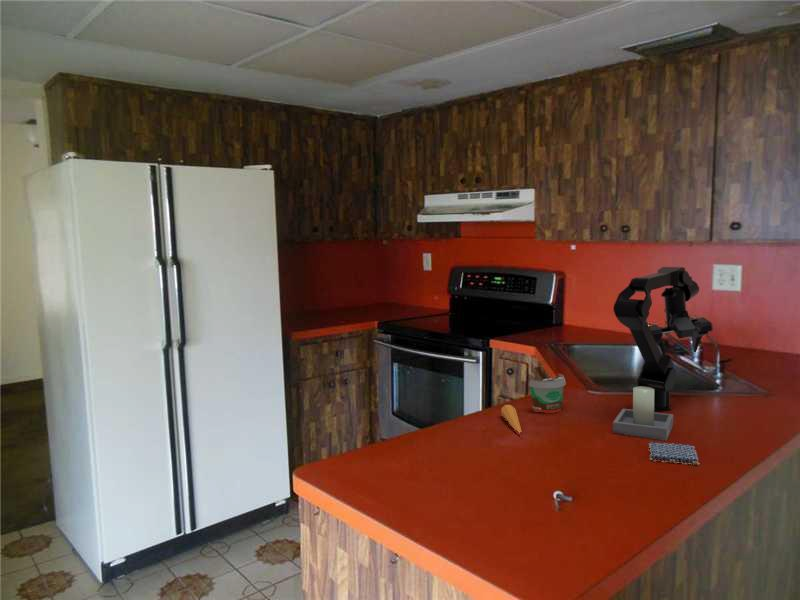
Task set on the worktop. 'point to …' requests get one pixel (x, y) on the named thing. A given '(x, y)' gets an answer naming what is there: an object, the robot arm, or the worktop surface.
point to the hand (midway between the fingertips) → (679, 354)
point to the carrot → (511, 416)
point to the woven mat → (673, 453)
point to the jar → (643, 406)
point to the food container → (547, 393)
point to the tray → (658, 431)
